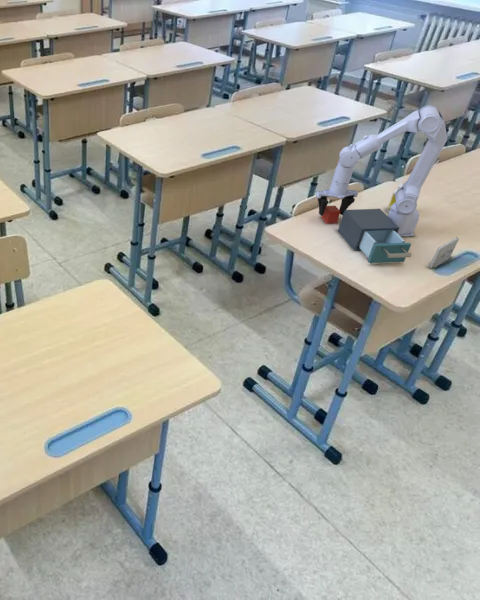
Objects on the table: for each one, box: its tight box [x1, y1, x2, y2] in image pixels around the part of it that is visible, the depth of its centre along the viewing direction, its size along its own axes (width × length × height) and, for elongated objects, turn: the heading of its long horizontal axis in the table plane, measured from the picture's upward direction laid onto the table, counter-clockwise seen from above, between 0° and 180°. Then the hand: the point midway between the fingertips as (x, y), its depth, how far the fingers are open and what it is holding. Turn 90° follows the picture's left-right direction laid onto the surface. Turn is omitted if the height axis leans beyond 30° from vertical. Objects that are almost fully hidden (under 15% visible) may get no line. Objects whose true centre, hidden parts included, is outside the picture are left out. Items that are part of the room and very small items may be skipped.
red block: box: [320, 205, 340, 225], centre depth 206 cm, size 4×5×5 cm
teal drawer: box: [358, 230, 412, 264], centre depth 184 cm, size 17×12×7 cm
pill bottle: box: [386, 182, 405, 213], centre depth 209 cm, size 6×6×11 cm
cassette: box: [428, 236, 460, 269], centre depth 182 cm, size 12×2×8 cm, turn 124°
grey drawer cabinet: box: [337, 208, 399, 252], centre depth 193 cm, size 14×13×9 cm
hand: (330, 214), depth 206 cm, fingers open, 7 cm apart
